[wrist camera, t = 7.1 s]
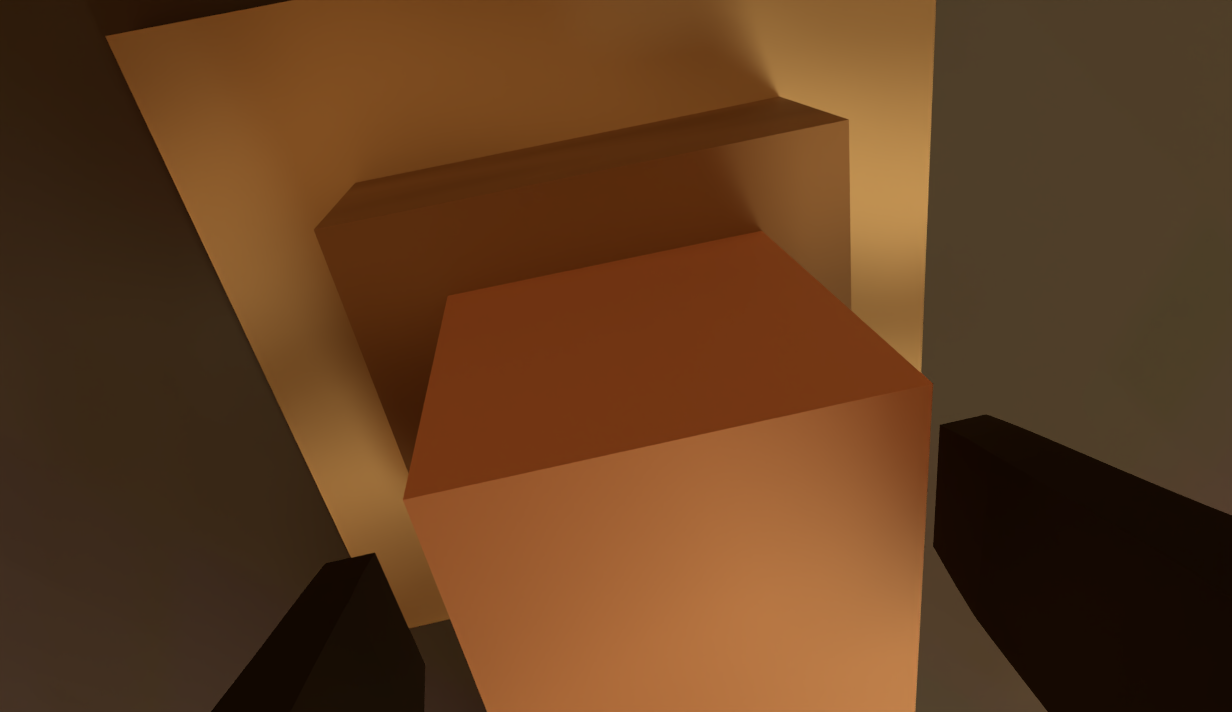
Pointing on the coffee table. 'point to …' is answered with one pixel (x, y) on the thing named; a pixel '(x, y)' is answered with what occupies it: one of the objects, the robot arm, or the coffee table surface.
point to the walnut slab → (578, 222)
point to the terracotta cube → (675, 489)
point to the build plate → (482, 126)
